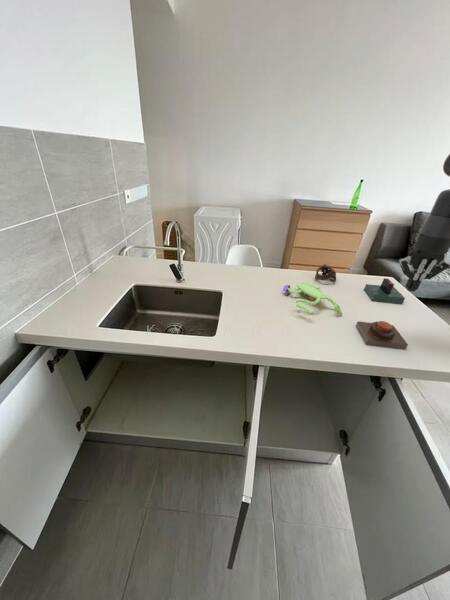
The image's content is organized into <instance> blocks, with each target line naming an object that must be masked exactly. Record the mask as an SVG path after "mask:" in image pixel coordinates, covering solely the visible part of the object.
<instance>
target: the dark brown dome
mask: <svg viewBox="0 0 450 600" xmlns="http://www.w3.org/2000/svg"><path fill="white" fill-rule="evenodd" d="M320 270H321V271H320ZM319 272H321V274H320V273H319ZM322 272H323V273H322ZM314 279H315V281H316V280H318V281H327V280H329V281H331V279H332V280H333V281H334V283H336V282H337V272H336V270H335V269H334V268H333V267H332V266H330V265H327V264H322V265H321V266H319V267H318V268H317V269H316V271H315V275H314Z"/></svg>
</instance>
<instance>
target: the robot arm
mask: <svg viewBox="0 0 450 600" xmlns="http://www.w3.org/2000/svg"><path fill="white" fill-rule="evenodd" d="M442 170H443V173H444V174H445V175H446V176H447V177H450V153H449V154H448V155H447V156H446V158H445V160H444V162H443V164H442ZM449 251H450V188H449V189H443V190H442V191H441V192H439V194H438V195H437V197H436V199H435V201H434V204H433V206H432V207H431V210H430V213H429V215H428V216H427V218H426V219H425V220H424V223H423V225H422V227H421V229H420V231H419V234H418V235H417V238H416V241H415V242H414V245H413V250H411V252H409V254H408V256H406V257H404V258H403V257H400V258H398V260H397V262H398V264H399V266H400V268H401V271H402V273H403V275H404V276H406V278H408V279H407V282H406V283H405V285H404V286H405V289H406V290H407V291H408V292H416V291H417V290H419V287H420V286H421V283H422V282H423V281H425V280H428V281H429V280H431V279H433V278H434V277H436V276H438V275H439V274H441V273H442V272H444V271H446V270H447V269H449V268H450V264H449V263H447V262H446V261H445V257H446V256H445V255H446V254H447V253H449ZM410 265H411V266H410Z"/></svg>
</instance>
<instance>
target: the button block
mask: <svg viewBox="0 0 450 600" xmlns="http://www.w3.org/2000/svg"><path fill="white" fill-rule="evenodd" d="M378 322H379V321H372V322H366V321H358V320H357V322H356V324H355V328H356V330H357V332H358V334H359V336H360V337H361V339H362V341H363V343H364V345H365V346H369V347H370V346H371V347H378V348H379V347H380V348H388V349H394V350H395V349H396V350H403V351H405V350H407V347H408V343H407V341H406V339H404V337H403V336H402V334H401V333H400V331H398V329H397V328H396V327H395V326H394V325H393V324H390V325H391V326H392V328H391V330H390V332H383V331H380V330H379V329H377V328H376V326H377V324H378Z"/></svg>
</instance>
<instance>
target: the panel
mask: <svg viewBox="0 0 450 600" xmlns="http://www.w3.org/2000/svg"><path fill="white" fill-rule="evenodd" d="M380 286H381V284H380V285H377V284H369V283H365V286H364V288H363V291H364V292H365V294H366V295H367V296H368V298H369V299H370V301H371V302H375V303H386V304H395V305H403V303H404V301H405V299H406V298H405V296H404V295H402V293H401V292H399V290H398V289H397V288H396V287H395V286H393V288H392V290H391V292H390V294H385V293H384V291H383V290H382V289H381V288H380Z"/></svg>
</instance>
